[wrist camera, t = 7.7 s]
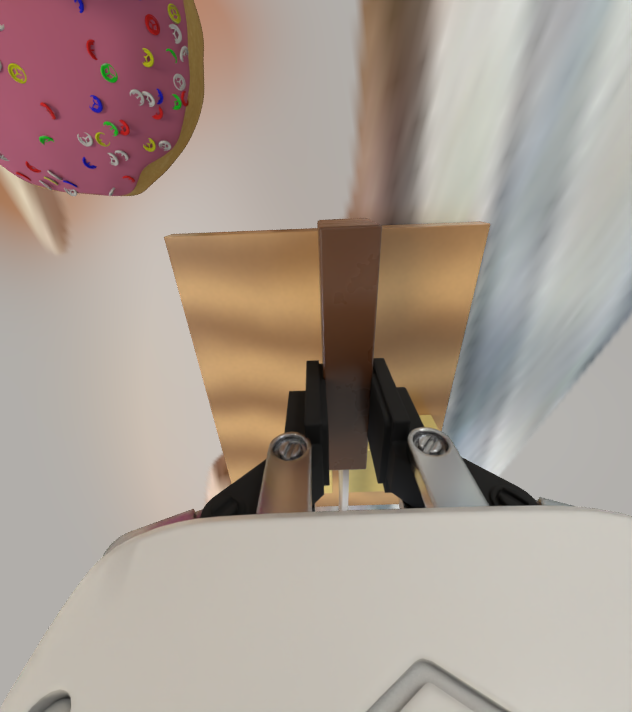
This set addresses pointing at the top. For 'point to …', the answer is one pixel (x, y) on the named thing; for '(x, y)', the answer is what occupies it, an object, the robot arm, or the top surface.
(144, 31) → the birthday cake
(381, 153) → the top surface
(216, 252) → the board
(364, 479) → the butter
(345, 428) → the knife
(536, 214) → the top surface
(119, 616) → the robot arm
